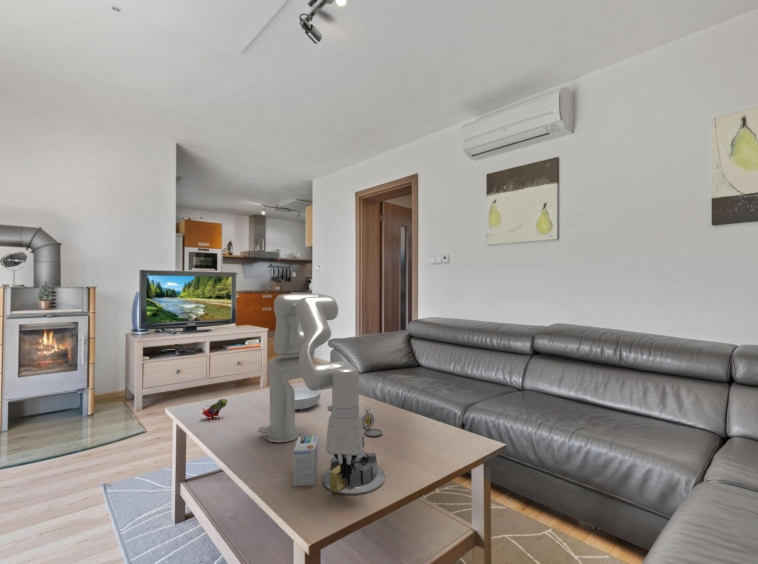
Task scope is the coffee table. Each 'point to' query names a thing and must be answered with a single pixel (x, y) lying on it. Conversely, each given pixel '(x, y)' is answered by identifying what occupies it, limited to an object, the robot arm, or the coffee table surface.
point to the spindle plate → (356, 489)
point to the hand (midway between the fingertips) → (346, 476)
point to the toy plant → (215, 408)
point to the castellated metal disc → (354, 473)
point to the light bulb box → (305, 461)
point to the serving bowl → (306, 398)
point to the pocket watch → (370, 425)
